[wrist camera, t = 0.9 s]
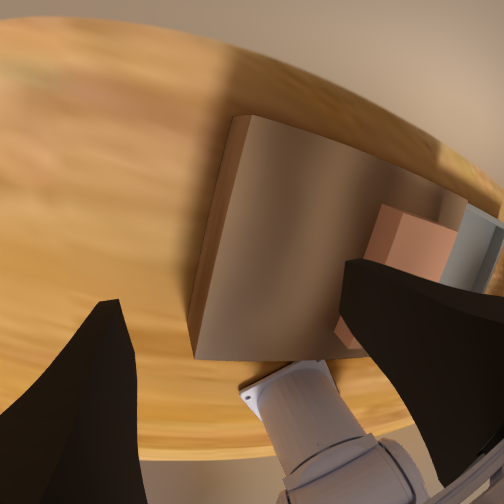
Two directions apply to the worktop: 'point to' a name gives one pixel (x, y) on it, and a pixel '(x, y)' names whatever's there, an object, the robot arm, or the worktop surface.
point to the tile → (405, 251)
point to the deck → (292, 240)
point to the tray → (474, 251)
